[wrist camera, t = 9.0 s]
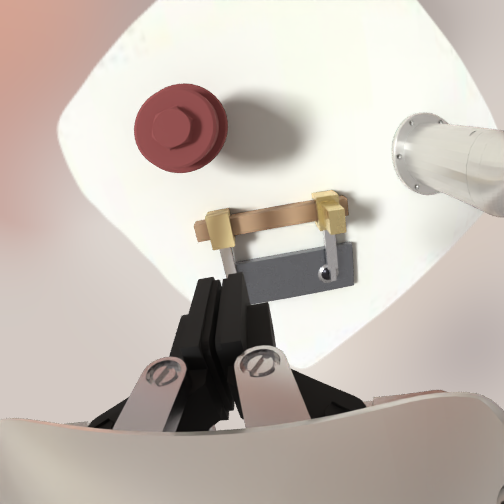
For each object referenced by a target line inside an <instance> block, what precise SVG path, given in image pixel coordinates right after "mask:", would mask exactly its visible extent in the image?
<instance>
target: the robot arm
mask: <svg viewBox="0 0 504 504" xmlns="http://www.w3.org/2000/svg"><path fill="white" fill-rule="evenodd" d="M409 122H410V124H409ZM397 155H398V157H397ZM392 160H393V164H394V168H395V170H396V173H397V175H398V176H399V178H400V180H401V181H402V182H403V183H404V184H405V186H407V187H408V188H409V189H411V190H413V191H415V192H417V193H420V194H423V195H432V194H436V193H438V192H442V193H445V194H447V195H449V196H452V197H454V198H456V199H458V200H460V201H463V202H465V203H467V204H469V205H471V206H473V207H475V208H477V209H479V210H481V211H484V212H486V213H488V214H490V215H493V216H496V217H504V131H503V130H496V129H488V128H480V127H471V126H461V125H450V124H448V123H447V122H446V121H444V120H443V119H442V118H440V117H439V116H437V115H434V114H432V113H417V114H413V115H411V116H409V117H407V118H406V119H405V120H404V121H403V122H402V123H401V124H400V126H399V127H398V129H397V131H396V133H395V135H394V139H393V143H392ZM234 401H235V404H236V407H237V409H238V412H239V414H240V417H241V418H242V419H244V422H245V427H246V428H245V429H233V430H219V431H216V428H215V424H216V423H217V422H218V421H220V420H228V418H229V411H232V410H234ZM0 504H504V411H503V409H501V408H500V407H499V406H498V405H497V404H496V403H495V402H494V401H492V400H491V399H489V398H487V397H485V396H483V395H479V394H476V393H469V392H446V391H443V390H431V391H424V392H417V393H409V394H401V395H393V396H382V397H374V398H373V401H366V402H363V401H362V400H360V399H359V398H357V397H355V396H353V395H351V394H348V393H346V392H343V391H341V390H338V389H336V388H334V387H331V386H329V385H327V384H324V383H322V382H320V381H317V380H315V379H313V378H310V377H308V376H306V375H304V374H301V373H299V372H297V371H295V370H292V369H291V368H290V366H289V363H288V361H287V358H286V356H285V354H284V353H283V351H281V350H280V349H278V348H276V344H275V337H274V330H273V324H272V319H271V314H270V308H269V304H268V302H265V303H260V304H254V305H251V304H250V300H249V295H248V291H247V286H246V282H245V278H244V274H243V272H239V273H233V274H228V278H227V279H223V283H222V286H221V283H220V280H215V279H214V277H210V278H204V279H199V280H198V283H197V286H196V290H195V293H194V297H193V300H192V304H191V307H190V311H189V314H188V315H183V316H182V317H181V319H180V322H179V326H178V329H177V332H176V336H175V339H174V342H173V346H172V349H171V352H170V356H169V357H164V358H160V359H157V360H156V361H154V362H152V363H150V364H149V365H148V366H147V367H146V368H145V369H144V371H143V373H142V374H141V376H140V378H139V380H138V382H137V383H136V385H135V387H134V389H133V391H132V393H131V395H130V396H129V397H128V398H127V399H125V400H124V401H122V402H120V403H119V404H117V405H116V406H114V407H113V408H111V409H109V410H108V411H106V412H105V413H103V414H101V415H100V416H98V417H97V418H95V419H94V420H93V421H92V422H91V423H89V422H78V423H68V424H59V423H51V422H46V421H39V420H31V419H21V418H10V419H1V420H0Z"/></svg>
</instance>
